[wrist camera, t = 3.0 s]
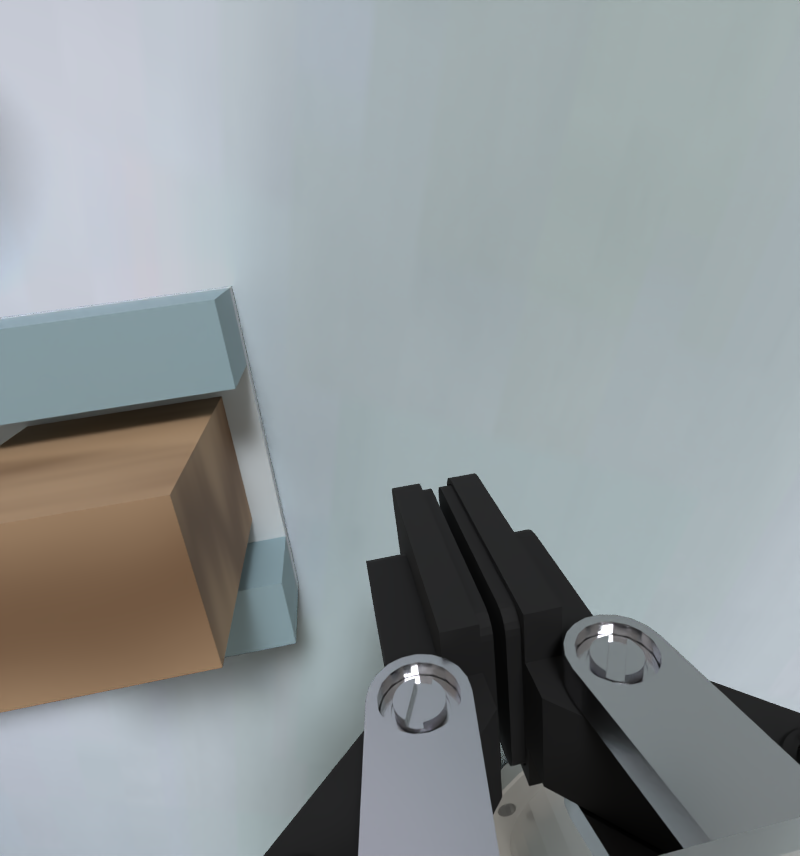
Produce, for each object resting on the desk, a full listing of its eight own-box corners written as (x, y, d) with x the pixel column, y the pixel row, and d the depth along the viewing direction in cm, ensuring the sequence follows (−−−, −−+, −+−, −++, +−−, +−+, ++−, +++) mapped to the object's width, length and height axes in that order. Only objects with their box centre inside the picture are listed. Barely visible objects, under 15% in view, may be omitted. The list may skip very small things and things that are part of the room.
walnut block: (252, 519, 19) (222, 667, 13) (75, 551, 19) (-49, 722, 12) (221, 396, 18) (169, 494, 11) (26, 426, 17) (-146, 548, 11)
